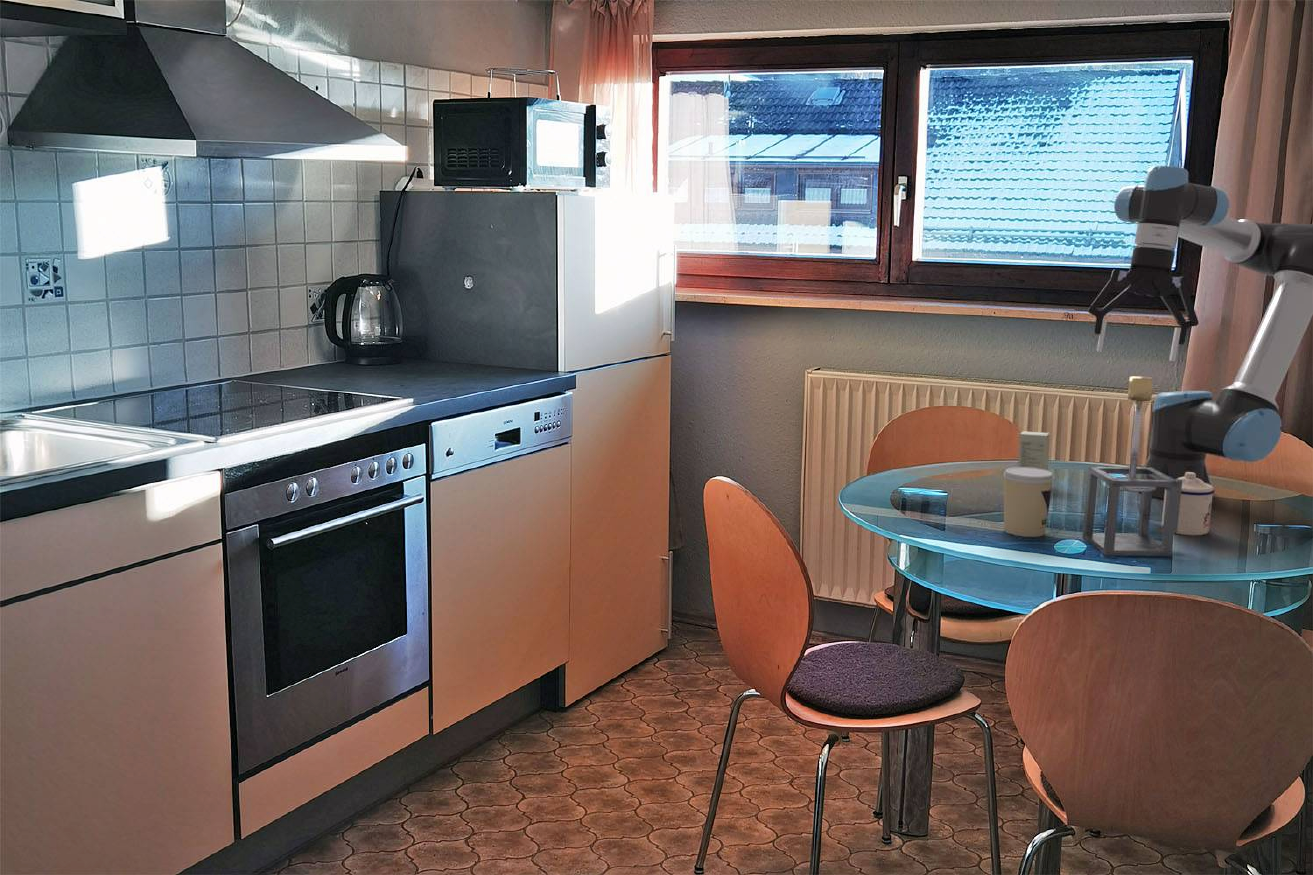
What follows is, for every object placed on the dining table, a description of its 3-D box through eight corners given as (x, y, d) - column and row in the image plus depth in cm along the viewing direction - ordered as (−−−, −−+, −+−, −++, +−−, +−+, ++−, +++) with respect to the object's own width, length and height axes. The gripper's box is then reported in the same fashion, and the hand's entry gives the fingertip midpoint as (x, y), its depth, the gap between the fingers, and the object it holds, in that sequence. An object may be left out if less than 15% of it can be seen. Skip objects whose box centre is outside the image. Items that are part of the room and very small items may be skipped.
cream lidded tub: (1052, 539, 229) (1057, 478, 226) (1001, 536, 231) (1005, 475, 228) (1046, 527, 238) (1051, 468, 235) (997, 523, 240) (1002, 465, 237)
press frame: (1160, 538, 230) (1167, 467, 228) (1188, 556, 219) (1195, 482, 216) (1082, 537, 230) (1088, 466, 228) (1105, 555, 219) (1112, 480, 216)
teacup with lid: (1214, 537, 232) (1221, 479, 229) (1164, 534, 234) (1170, 476, 231) (1200, 522, 243) (1206, 466, 241) (1153, 519, 245) (1158, 463, 243)
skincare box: (1047, 485, 274) (1051, 432, 272) (1044, 488, 270) (1048, 435, 268) (1018, 481, 277) (1022, 430, 274) (1015, 485, 273) (1019, 433, 271)
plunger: (1144, 481, 226) (1154, 374, 223) (1163, 492, 218) (1174, 381, 214) (1100, 481, 226) (1109, 374, 222) (1117, 491, 218) (1127, 380, 214)
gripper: (1088, 239, 232) (1070, 348, 235) (1227, 254, 226) (1206, 365, 229) (1085, 241, 239) (1068, 347, 242) (1219, 256, 233) (1200, 364, 236)
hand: (1135, 356), depth 235 cm, fingers open, 13 cm apart
